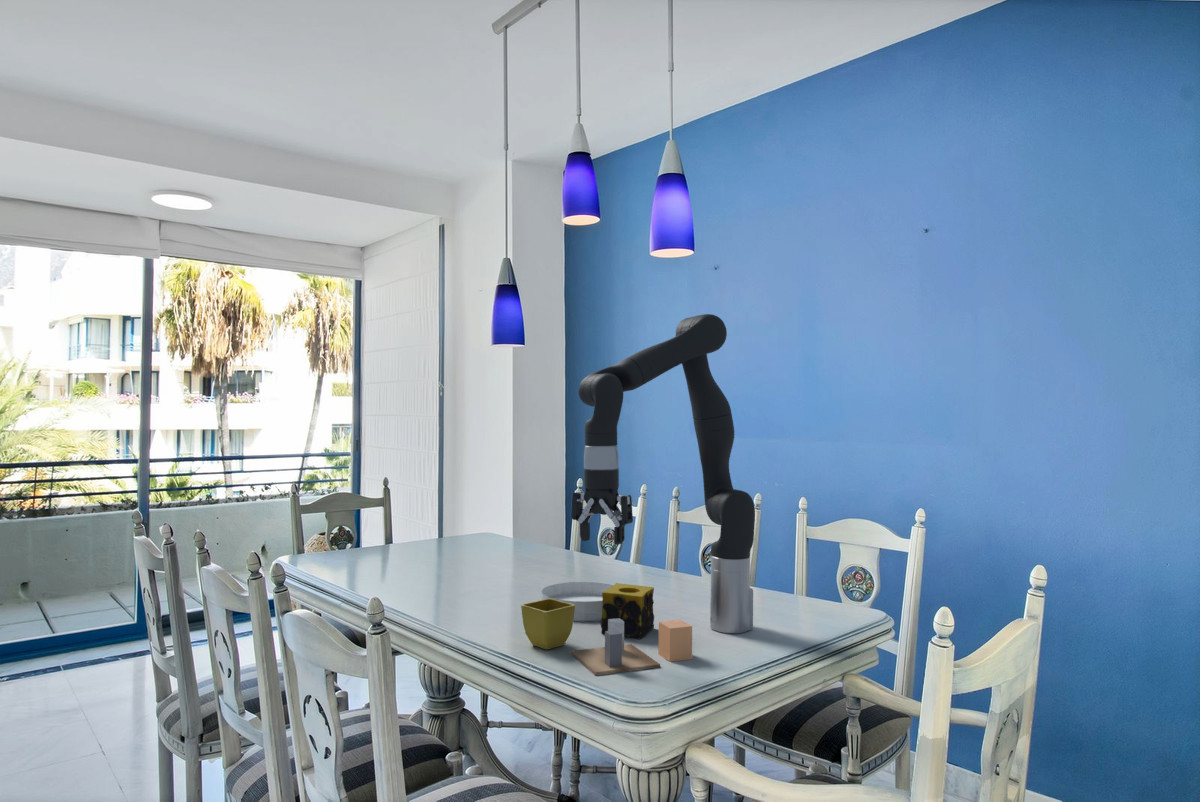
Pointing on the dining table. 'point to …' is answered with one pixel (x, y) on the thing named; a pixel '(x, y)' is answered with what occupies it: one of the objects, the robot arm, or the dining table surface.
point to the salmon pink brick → (675, 640)
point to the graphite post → (613, 648)
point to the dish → (579, 598)
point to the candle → (629, 609)
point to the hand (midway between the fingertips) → (601, 542)
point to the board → (630, 662)
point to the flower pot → (548, 622)
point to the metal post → (617, 627)
